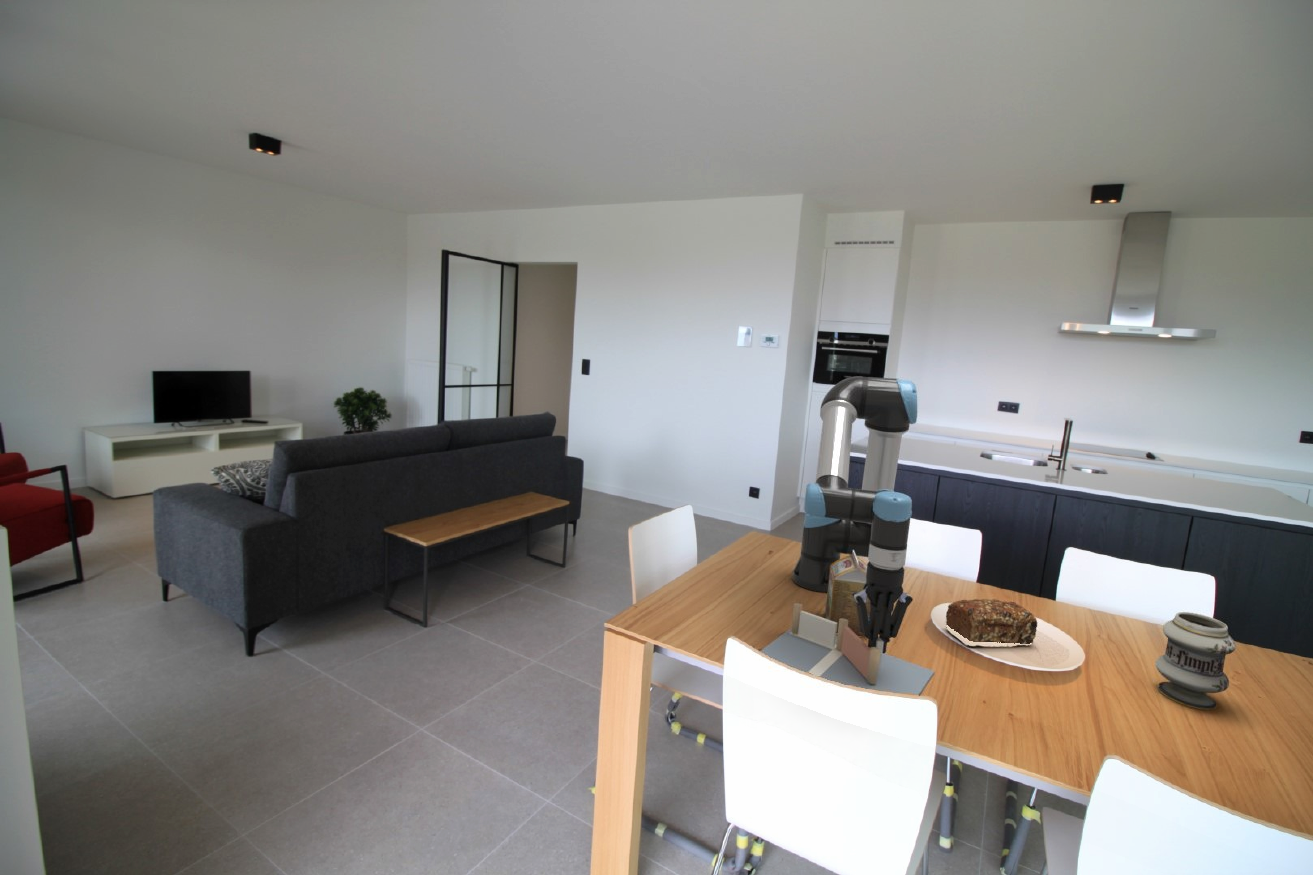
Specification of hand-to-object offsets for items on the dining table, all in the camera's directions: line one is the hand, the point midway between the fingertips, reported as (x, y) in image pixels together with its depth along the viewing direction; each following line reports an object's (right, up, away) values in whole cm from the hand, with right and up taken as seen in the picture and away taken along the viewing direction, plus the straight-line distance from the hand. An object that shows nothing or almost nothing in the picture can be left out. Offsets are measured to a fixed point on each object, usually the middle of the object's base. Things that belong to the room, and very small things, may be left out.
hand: (874, 665), depth 132 cm
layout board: (-6, -1, +4) cm, 7 cm away
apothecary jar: (+68, -7, -1) cm, 68 cm away
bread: (+37, -1, +22) cm, 43 cm away
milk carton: (+1, +1, +24) cm, 24 cm away
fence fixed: (-9, +1, +13) cm, 16 cm away
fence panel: (-3, -1, +1) cm, 4 cm away
